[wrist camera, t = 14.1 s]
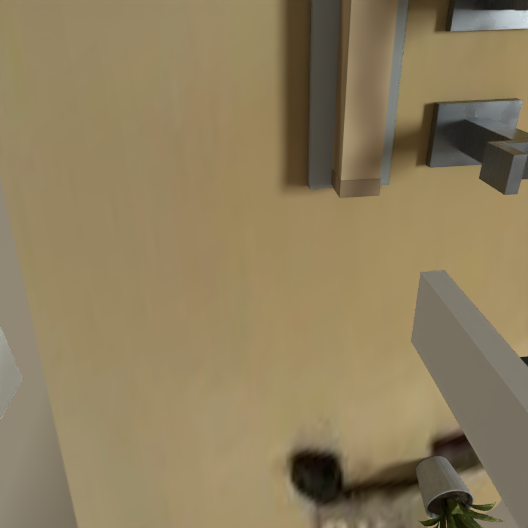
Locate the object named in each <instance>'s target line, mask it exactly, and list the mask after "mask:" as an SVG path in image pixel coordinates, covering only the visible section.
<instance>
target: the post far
mask: <svg viewBox="0 0 528 528" xmlns="http://www.w3.org/2000/svg"><path fill="white" fill-rule="evenodd" d="M522 101H523V100H520V99H517V98H515V99H495V100H475V101H454V102H435V106H434V113H433V119H432V126H431V133H430V140H429V146H428V153H427V160H426V165H427V166H428V167H430V168H431V167H448V166H466V165H482V167H481V172H480V176H479V179H481V180H482V181H484V182H485V183H487V184H488V185H490V186H492V187H493V188H495V189H496V190H498V191H499V192H501V193H502V194H504V195H509V194H517V193H518V190H519V186H520V182H521V179H528V133H527V132H524V131H522V130H519V129H517V128H516V126H517V122H518V118H519V114H520V109H521V105H522Z"/></svg>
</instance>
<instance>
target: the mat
mask: <svg viewBox="0 0 528 528" xmlns="http://www.w3.org/2000/svg"><path fill="white" fill-rule="evenodd" d="M408 2H409V0H398V7H397V17H396V27H395V36H394V46H393V56H392V66H391V76H390V86H389V95H388V105H387V115H386V125H385V135H384V144H383V154H382V164H381V174H380V178H381V183H380V185H387V184H389V177H390V168H391V159H392V149H393V140H394V131H395V122H396V113H397V103H398V94H399V85H400V76H401V67H402V57H403V48H404V39H405V30H406V21H407V12H408ZM339 19H340V0H311V38H310V97H309V156H308V187H309V189H320V188H333V187H332V185H331V177H332V167H333V146H334V125H335V103H336V82H337V61H338V40H339Z"/></svg>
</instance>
